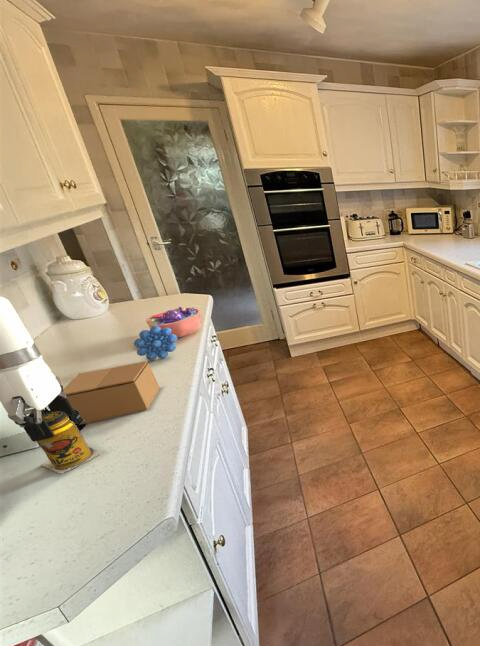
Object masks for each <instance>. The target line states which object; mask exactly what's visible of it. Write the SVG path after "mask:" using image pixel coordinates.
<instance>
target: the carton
mask: <svg viewBox="0 0 480 646" xmlns="http://www.w3.org/2000/svg"><path fill="white" fill-rule="evenodd" d="M113 367H114V368H113V369H112V370H111V372H110V373H109V374H108V375H107V376H106V377H105V378H104V380H103V381H102V382H101V383H100V384H99V385H98V387H97V389H94V390H89V391H84V392H79V393H74V394H69V395H66V398H67V399H68V401H69V403H70V404H71V406H72V408H73V409H74V410H76V411H78V412H79V415H80V417H81V418H83V419H84V420H85V421H82V422H81V423H80V424H79V425H78V426H80V425H85V424H88V423H89V424H90V423H93V422H98V421H102V420H106V419H112V418H115V417H120V416H125V415H128V414H134V413H138V412H143V411H146V410H147V411H148V409H149V407H150V406H151V404H152V402H153V401H154V399H155V397H156V396H157V394H158V392H159V391H160V386H159V383H158V381H157V379H156V377H155V376H156V375H155V374H154V372H153V370H152V368H151V366H150V363H148V360H143V361H139V362H133V363H129V364H122V365H117V366H113Z"/></svg>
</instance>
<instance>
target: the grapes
mask: <svg viewBox="0 0 480 646" xmlns="http://www.w3.org/2000/svg"><path fill="white" fill-rule="evenodd" d="M171 333H172V331H171V329H170V328H163V329H162V330H161V328H160V327H159V326H153V327H151V328H150V327H149V330H148V329H142V330H141V331H140V332H139V334H138V336H139V338H136V339H135V340H134V342H133V345H134V347H136V348H137V349H136V354H137V356H140V357H144V356H145V358H146V360H147V361H154V360H155V359H156V358H158V359H161V360H163V359H166V358H167V357H168V355H169V353H172V352H173V353H174V351H175V350H176V349H177V345H176V344H175V343H177V341H178V338H177V336H176V335H174V334H172V335H170V334H171Z"/></svg>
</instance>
